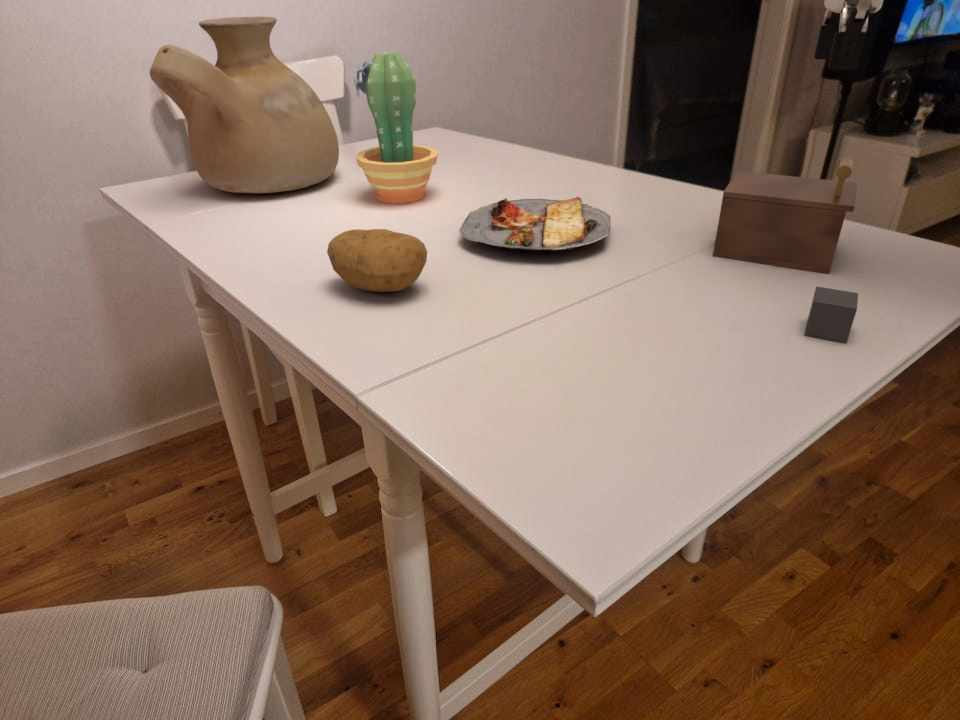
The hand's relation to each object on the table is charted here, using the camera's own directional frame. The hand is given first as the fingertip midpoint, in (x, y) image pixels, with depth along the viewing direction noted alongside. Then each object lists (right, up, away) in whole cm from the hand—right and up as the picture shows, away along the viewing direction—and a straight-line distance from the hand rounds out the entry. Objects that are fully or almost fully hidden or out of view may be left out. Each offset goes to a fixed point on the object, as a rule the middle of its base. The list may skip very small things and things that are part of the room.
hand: (834, 63), depth 83 cm
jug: (-89, -2, +51) cm, 103 cm away
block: (-5, -34, -7) cm, 35 cm away
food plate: (-36, -17, +23) cm, 46 cm away
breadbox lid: (-1, -14, +10) cm, 17 cm away
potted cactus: (-60, -7, +42) cm, 74 cm away
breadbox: (-1, -21, +14) cm, 26 cm away
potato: (-59, -28, +6) cm, 65 cm away
